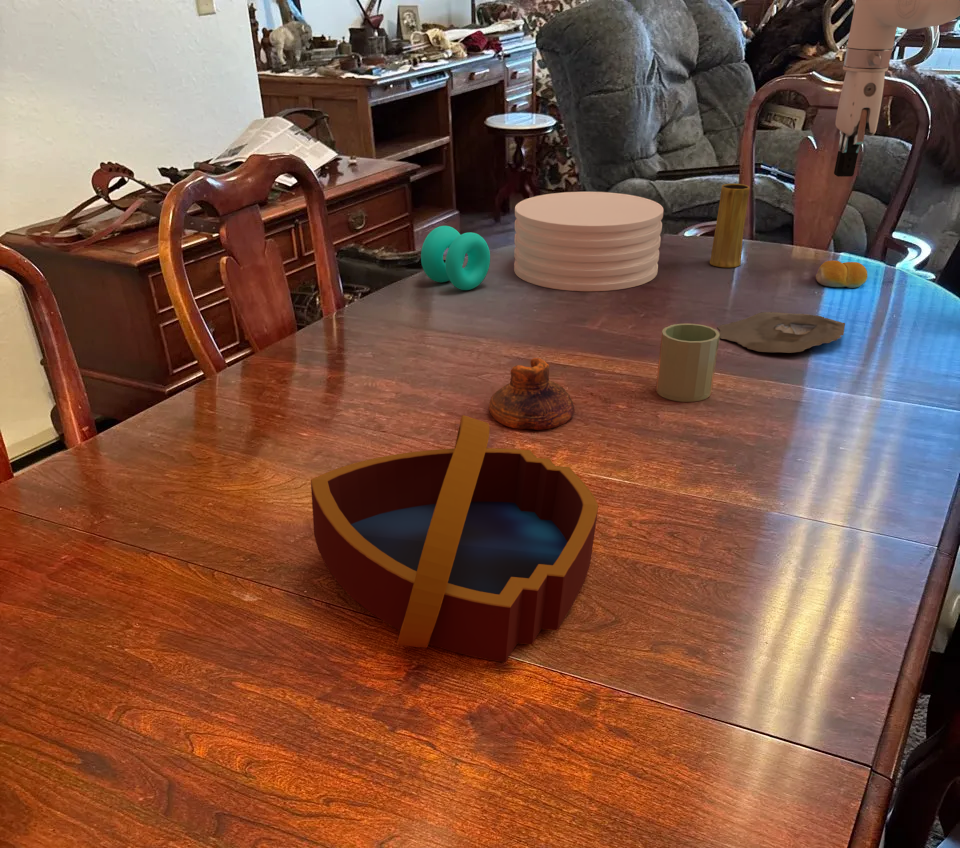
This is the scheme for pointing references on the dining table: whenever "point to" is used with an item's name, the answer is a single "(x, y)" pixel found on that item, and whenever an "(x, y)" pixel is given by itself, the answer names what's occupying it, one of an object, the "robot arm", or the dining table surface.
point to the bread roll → (841, 274)
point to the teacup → (687, 362)
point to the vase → (730, 226)
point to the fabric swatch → (782, 331)
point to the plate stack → (587, 240)
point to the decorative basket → (458, 542)
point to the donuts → (455, 257)
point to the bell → (531, 399)
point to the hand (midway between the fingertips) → (843, 175)
